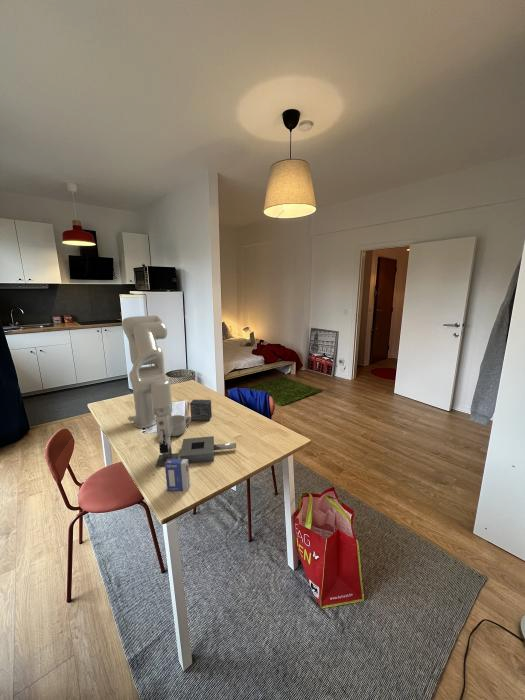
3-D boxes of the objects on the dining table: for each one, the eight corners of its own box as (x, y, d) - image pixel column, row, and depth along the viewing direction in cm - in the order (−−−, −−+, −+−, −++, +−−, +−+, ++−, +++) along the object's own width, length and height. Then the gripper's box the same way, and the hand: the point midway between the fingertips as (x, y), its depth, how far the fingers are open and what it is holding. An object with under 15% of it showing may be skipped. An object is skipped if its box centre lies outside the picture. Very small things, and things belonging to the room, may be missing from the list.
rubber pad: (155, 467, 120) (155, 465, 120) (159, 456, 128) (159, 454, 128) (175, 465, 121) (175, 463, 121) (178, 454, 129) (177, 453, 129)
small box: (212, 416, 166) (211, 399, 163) (209, 421, 160) (208, 404, 157) (194, 415, 167) (193, 398, 164) (190, 420, 161) (189, 403, 158)
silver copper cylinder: (171, 461, 123) (169, 435, 120) (161, 462, 122) (159, 436, 120) (172, 455, 127) (170, 431, 124) (163, 456, 126) (160, 432, 123)
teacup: (166, 440, 140) (165, 425, 138) (163, 431, 150) (161, 416, 148) (194, 434, 146) (193, 419, 145) (189, 425, 156) (188, 411, 154)
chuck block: (180, 464, 122) (179, 456, 121) (184, 446, 135) (183, 438, 134) (237, 458, 125) (237, 450, 125) (235, 441, 139) (234, 434, 138)
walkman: (167, 491, 106) (164, 462, 103) (169, 486, 109) (167, 457, 106) (188, 491, 106) (186, 462, 103) (190, 486, 109) (188, 458, 106)
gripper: (168, 417, 111) (172, 457, 115) (174, 400, 128) (177, 435, 132) (148, 419, 110) (152, 459, 114) (157, 401, 127) (160, 436, 131)
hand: (166, 446), depth 123 cm, fingers open, 9 cm apart
